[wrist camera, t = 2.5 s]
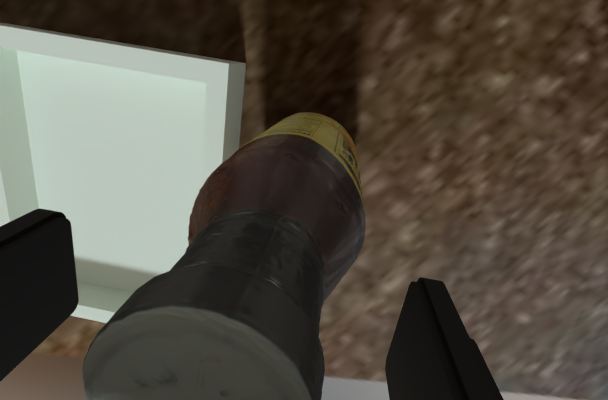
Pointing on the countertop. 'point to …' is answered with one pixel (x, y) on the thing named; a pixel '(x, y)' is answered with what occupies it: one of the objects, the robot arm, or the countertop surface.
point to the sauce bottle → (244, 278)
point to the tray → (112, 149)
